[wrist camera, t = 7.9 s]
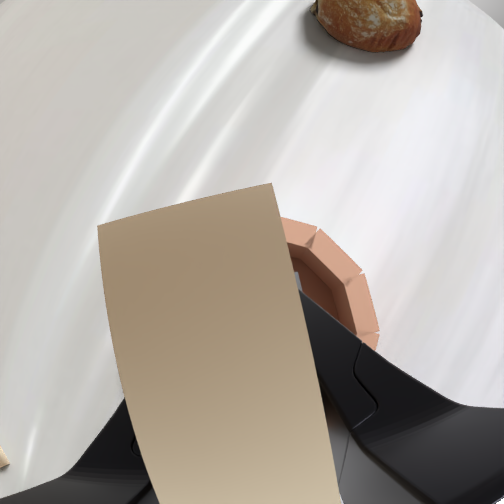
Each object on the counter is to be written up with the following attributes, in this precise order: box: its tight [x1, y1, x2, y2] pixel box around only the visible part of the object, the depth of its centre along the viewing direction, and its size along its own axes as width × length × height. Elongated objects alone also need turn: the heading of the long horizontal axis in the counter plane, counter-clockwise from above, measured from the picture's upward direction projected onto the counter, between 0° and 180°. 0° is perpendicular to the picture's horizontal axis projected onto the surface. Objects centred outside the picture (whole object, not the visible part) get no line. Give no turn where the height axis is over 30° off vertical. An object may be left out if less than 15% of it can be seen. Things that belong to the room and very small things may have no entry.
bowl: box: [281, 217, 380, 351], centre depth 16 cm, size 11×11×4 cm
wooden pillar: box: [97, 183, 341, 504], centre depth 9 cm, size 5×5×13 cm
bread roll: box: [310, 0, 423, 52], centre depth 20 cm, size 10×10×8 cm
